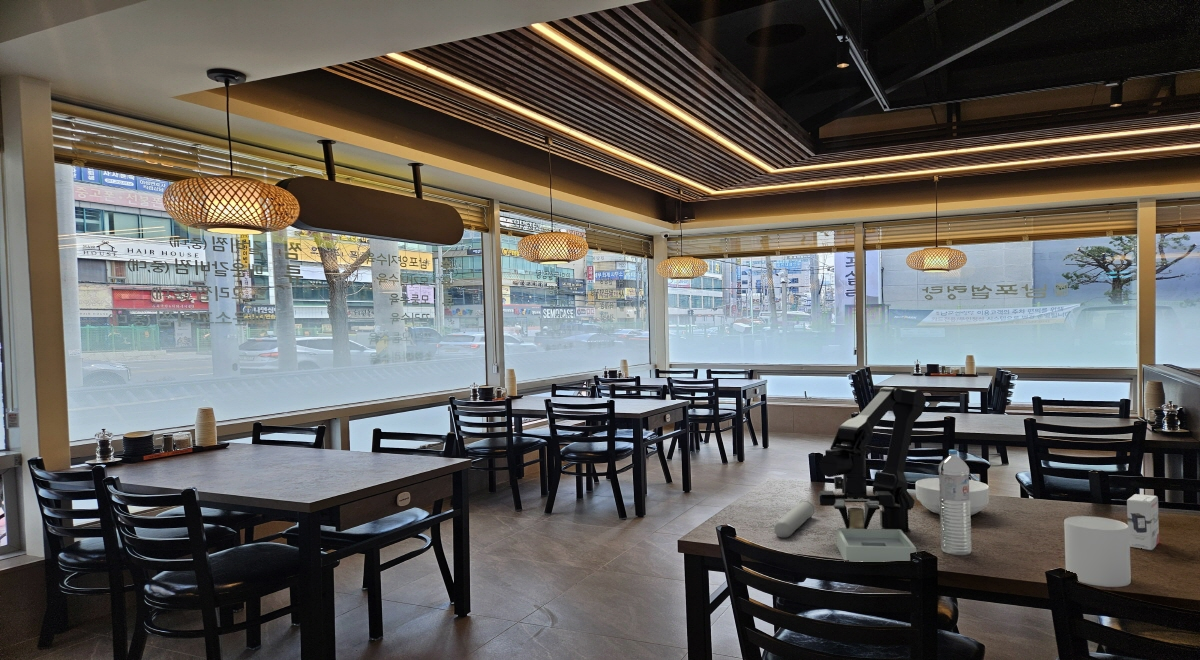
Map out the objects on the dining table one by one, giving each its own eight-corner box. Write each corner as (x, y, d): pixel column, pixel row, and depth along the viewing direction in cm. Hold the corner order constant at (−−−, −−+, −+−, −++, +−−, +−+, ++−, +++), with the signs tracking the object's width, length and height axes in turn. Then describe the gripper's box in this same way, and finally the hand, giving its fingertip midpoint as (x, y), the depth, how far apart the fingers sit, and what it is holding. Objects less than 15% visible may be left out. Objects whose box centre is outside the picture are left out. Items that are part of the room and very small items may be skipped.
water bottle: (957, 557, 176) (954, 453, 176) (934, 550, 183) (931, 449, 183) (978, 553, 179) (974, 450, 179) (954, 546, 185) (951, 447, 185)
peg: (863, 537, 195) (862, 507, 195) (866, 542, 191) (865, 511, 191) (847, 537, 196) (846, 507, 196) (849, 541, 192) (849, 511, 192)
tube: (793, 526, 195) (817, 504, 216) (774, 517, 197) (799, 497, 219) (787, 544, 196) (812, 520, 217) (768, 535, 198) (794, 513, 220)
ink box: (1135, 539, 186) (1134, 492, 186) (1160, 542, 183) (1158, 495, 183) (1127, 546, 180) (1126, 498, 180) (1152, 550, 177) (1151, 501, 177)
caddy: (901, 547, 186) (900, 529, 186) (916, 567, 170) (916, 547, 170) (837, 546, 188) (836, 528, 188) (846, 565, 173) (846, 546, 173)
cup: (1126, 591, 152) (1125, 533, 152) (1061, 579, 159) (1059, 524, 159) (1134, 576, 160) (1132, 521, 160) (1071, 565, 168) (1069, 513, 168)
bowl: (1003, 513, 215) (1002, 484, 215) (966, 525, 204) (965, 495, 204) (939, 501, 231) (938, 475, 231) (902, 512, 220) (901, 484, 220)
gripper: (885, 466, 200) (887, 523, 200) (814, 466, 203) (816, 522, 203) (894, 474, 189) (896, 535, 189) (819, 474, 192) (821, 533, 192)
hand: (856, 531), depth 193 cm, fingers closed on peg, 4 cm apart
